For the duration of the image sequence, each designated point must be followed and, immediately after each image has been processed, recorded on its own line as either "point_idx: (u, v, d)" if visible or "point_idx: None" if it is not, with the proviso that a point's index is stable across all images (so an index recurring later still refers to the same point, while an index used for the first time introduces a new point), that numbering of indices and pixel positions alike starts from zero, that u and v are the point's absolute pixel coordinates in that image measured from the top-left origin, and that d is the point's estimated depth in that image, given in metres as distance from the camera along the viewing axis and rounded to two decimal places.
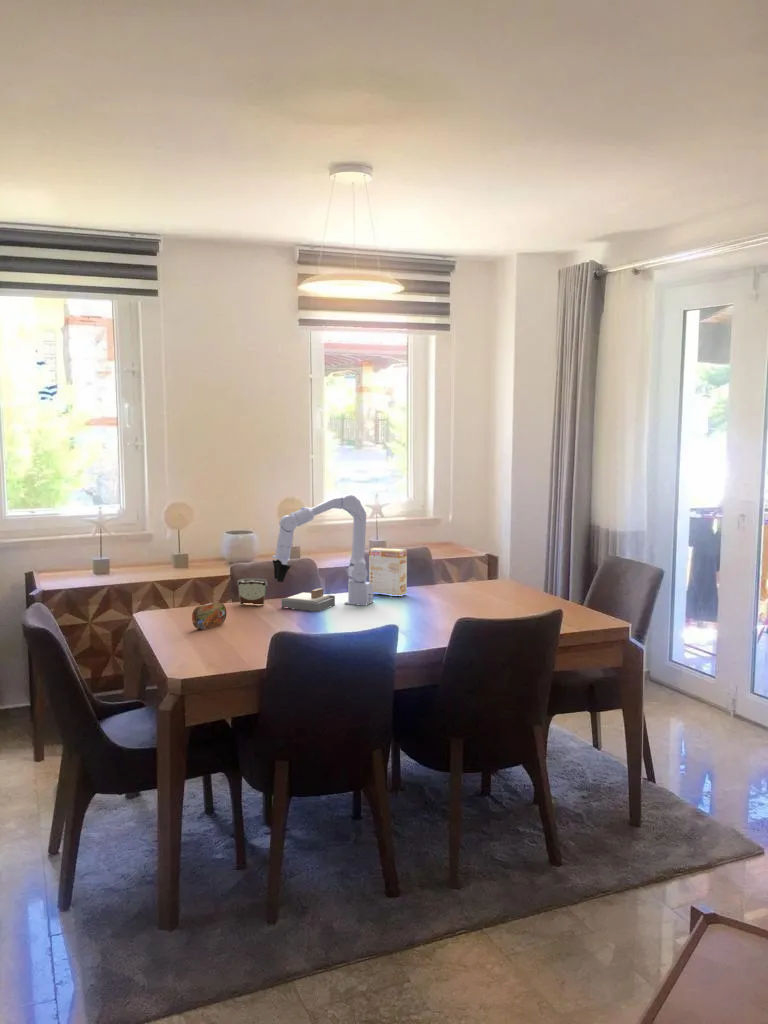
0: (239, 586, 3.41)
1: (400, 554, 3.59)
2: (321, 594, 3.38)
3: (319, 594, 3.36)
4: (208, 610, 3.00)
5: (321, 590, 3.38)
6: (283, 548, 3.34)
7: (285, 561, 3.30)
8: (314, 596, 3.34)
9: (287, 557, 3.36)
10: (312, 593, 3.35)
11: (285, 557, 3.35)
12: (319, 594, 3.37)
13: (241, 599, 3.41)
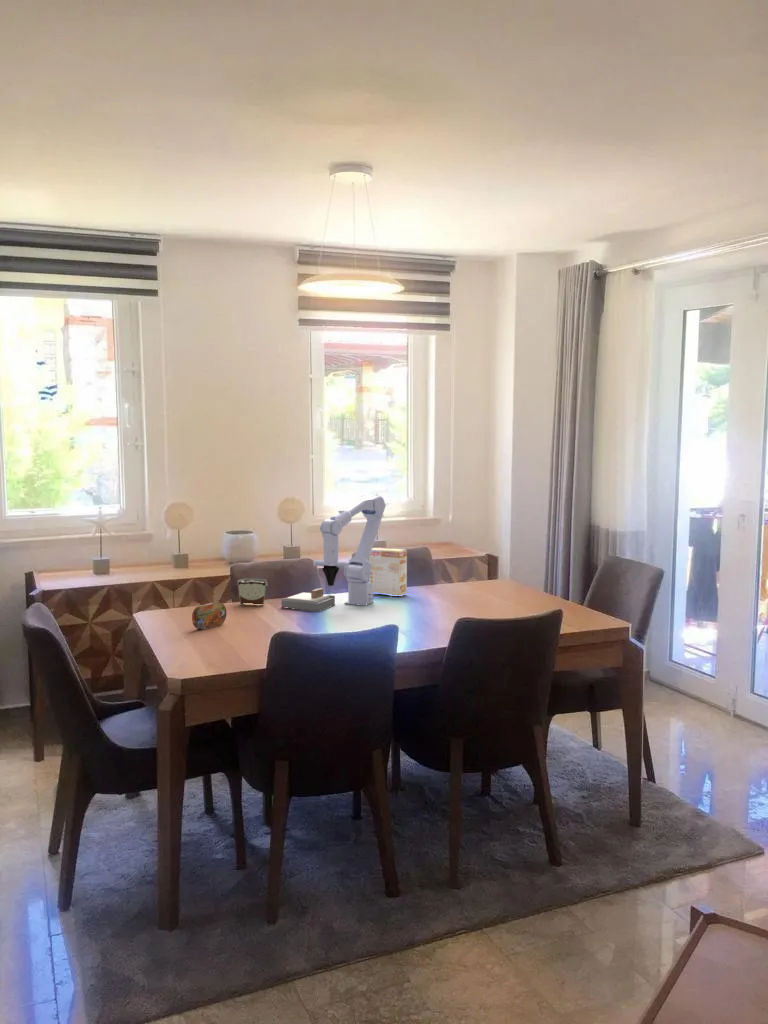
0: (239, 586, 3.41)
1: (400, 554, 3.59)
2: (321, 594, 3.38)
3: (319, 594, 3.36)
4: (208, 610, 3.00)
5: (321, 590, 3.38)
6: (336, 552, 3.32)
7: (347, 564, 3.31)
8: (314, 596, 3.34)
9: None
10: (312, 593, 3.35)
11: (338, 561, 3.33)
12: (319, 594, 3.37)
13: (241, 599, 3.41)
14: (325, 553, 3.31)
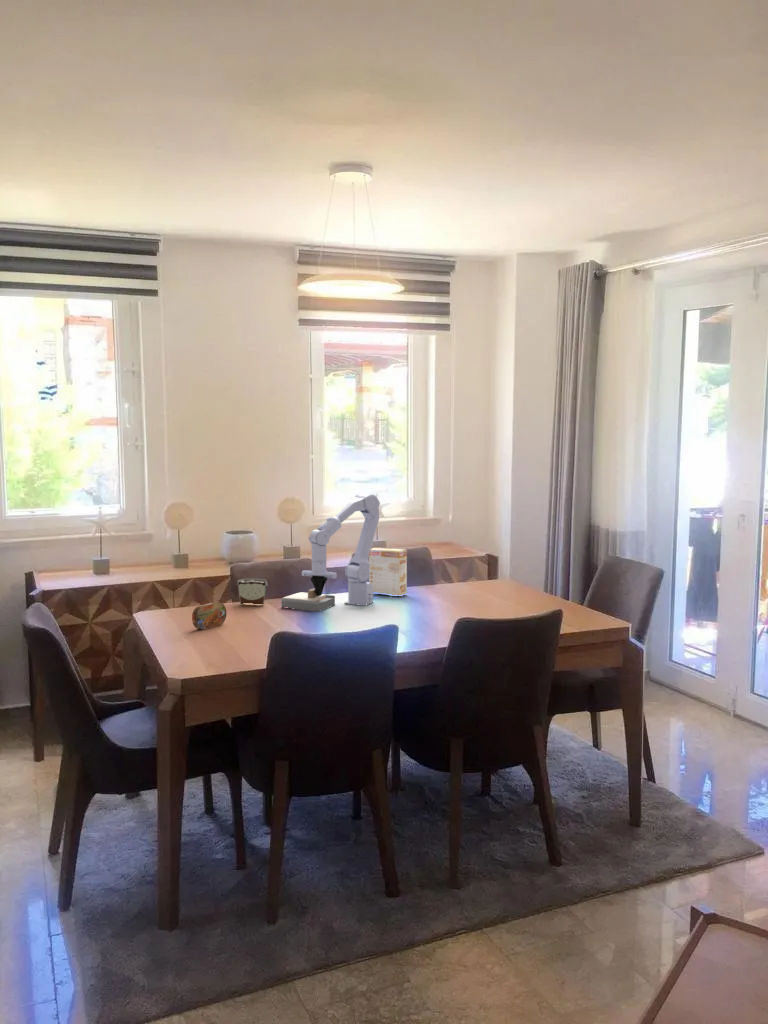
0: (239, 586, 3.41)
1: (400, 554, 3.59)
2: None
3: (315, 594, 3.37)
4: (208, 610, 3.00)
5: None
6: (324, 563, 3.34)
7: (335, 574, 3.33)
8: (311, 596, 3.35)
9: None
10: (309, 593, 3.35)
11: (326, 571, 3.36)
12: (315, 593, 3.37)
13: (241, 599, 3.41)
14: (313, 563, 3.34)
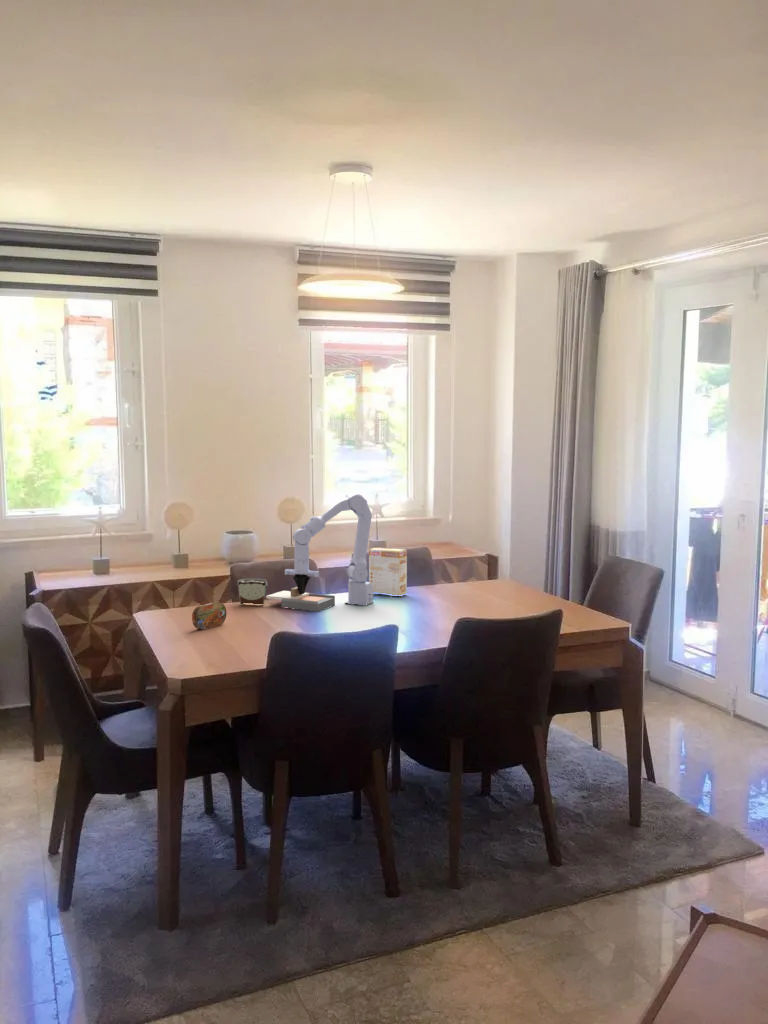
0: (239, 586, 3.41)
1: (400, 554, 3.59)
2: None
3: (298, 592, 3.40)
4: (208, 610, 3.00)
5: None
6: (307, 561, 3.37)
7: (318, 573, 3.36)
8: (293, 594, 3.38)
9: (308, 569, 3.40)
10: (291, 591, 3.38)
11: (308, 569, 3.39)
12: (298, 592, 3.40)
13: (241, 599, 3.41)
14: (296, 562, 3.37)
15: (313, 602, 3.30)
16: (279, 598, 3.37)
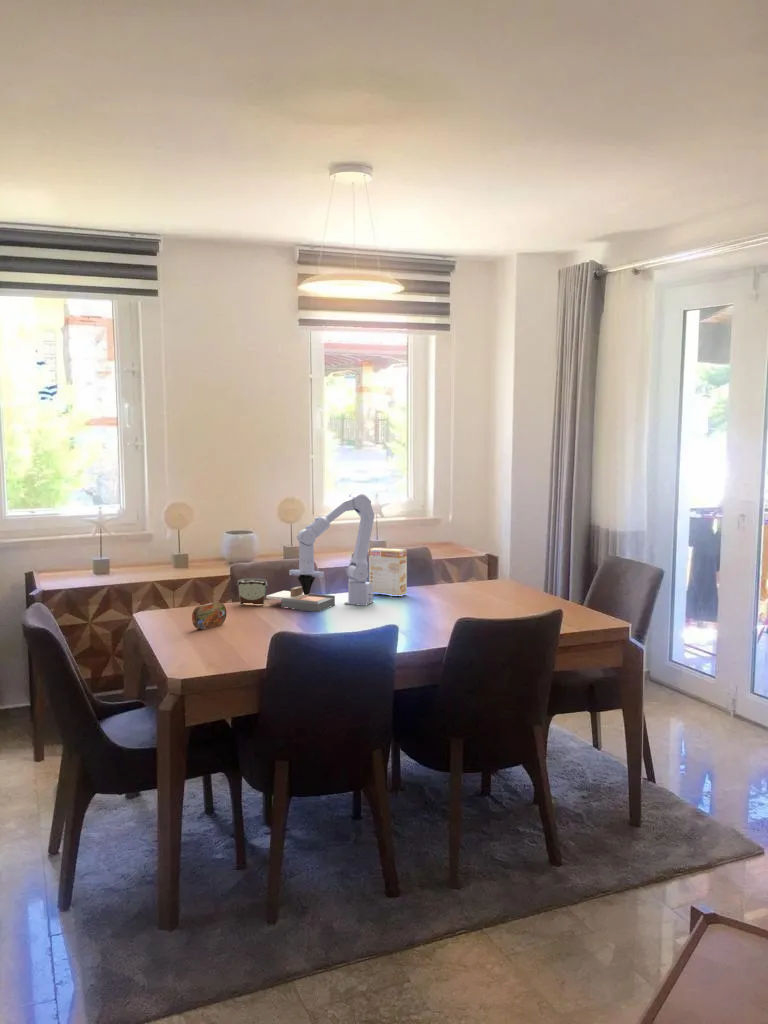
0: (239, 586, 3.41)
1: (400, 554, 3.59)
2: (300, 592, 3.42)
3: (298, 592, 3.40)
4: (208, 610, 3.00)
5: (300, 588, 3.42)
6: (311, 562, 3.36)
7: (323, 574, 3.36)
8: (293, 594, 3.38)
9: (313, 569, 3.39)
10: (291, 591, 3.38)
11: (313, 570, 3.38)
12: (298, 592, 3.40)
13: (241, 599, 3.41)
14: (301, 563, 3.36)
15: (313, 602, 3.30)
16: (279, 598, 3.37)
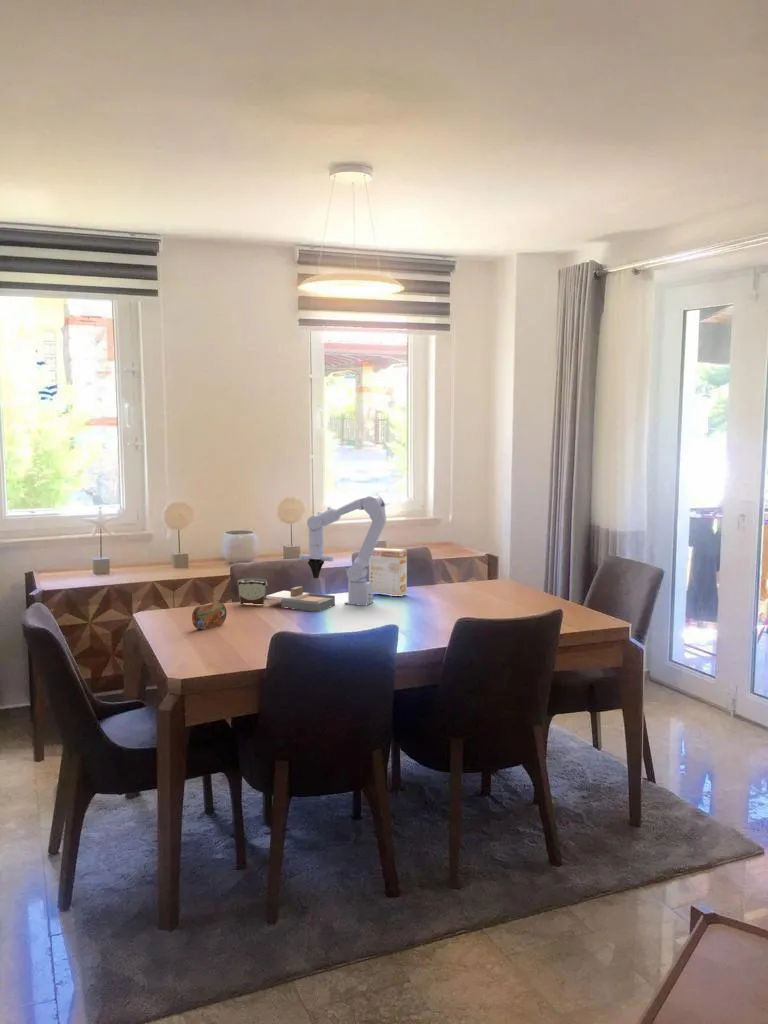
0: (239, 586, 3.41)
1: (400, 554, 3.59)
2: (300, 592, 3.42)
3: (298, 592, 3.40)
4: (208, 610, 3.00)
5: (300, 588, 3.42)
6: (321, 546, 3.48)
7: (332, 558, 3.47)
8: (293, 594, 3.38)
9: (322, 554, 3.50)
10: (291, 591, 3.38)
11: (322, 554, 3.49)
12: (298, 592, 3.40)
13: (241, 599, 3.41)
14: (310, 547, 3.48)
15: (313, 602, 3.30)
16: (279, 598, 3.37)
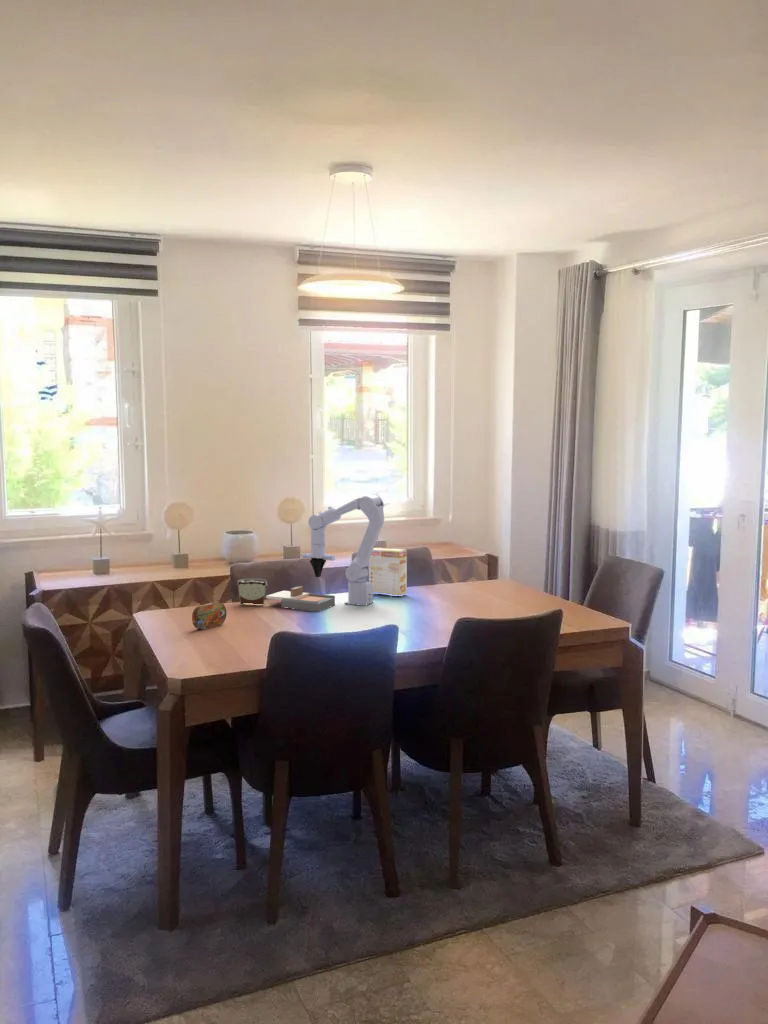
0: (239, 586, 3.41)
1: (400, 554, 3.59)
2: (300, 592, 3.42)
3: (298, 592, 3.40)
4: (208, 610, 3.00)
5: (300, 588, 3.42)
6: (323, 546, 3.51)
7: (333, 557, 3.50)
8: (293, 594, 3.38)
9: (324, 553, 3.53)
10: (291, 591, 3.38)
11: (324, 553, 3.52)
12: (298, 592, 3.40)
13: (241, 599, 3.41)
14: (312, 546, 3.51)
15: (313, 602, 3.30)
16: (279, 598, 3.37)
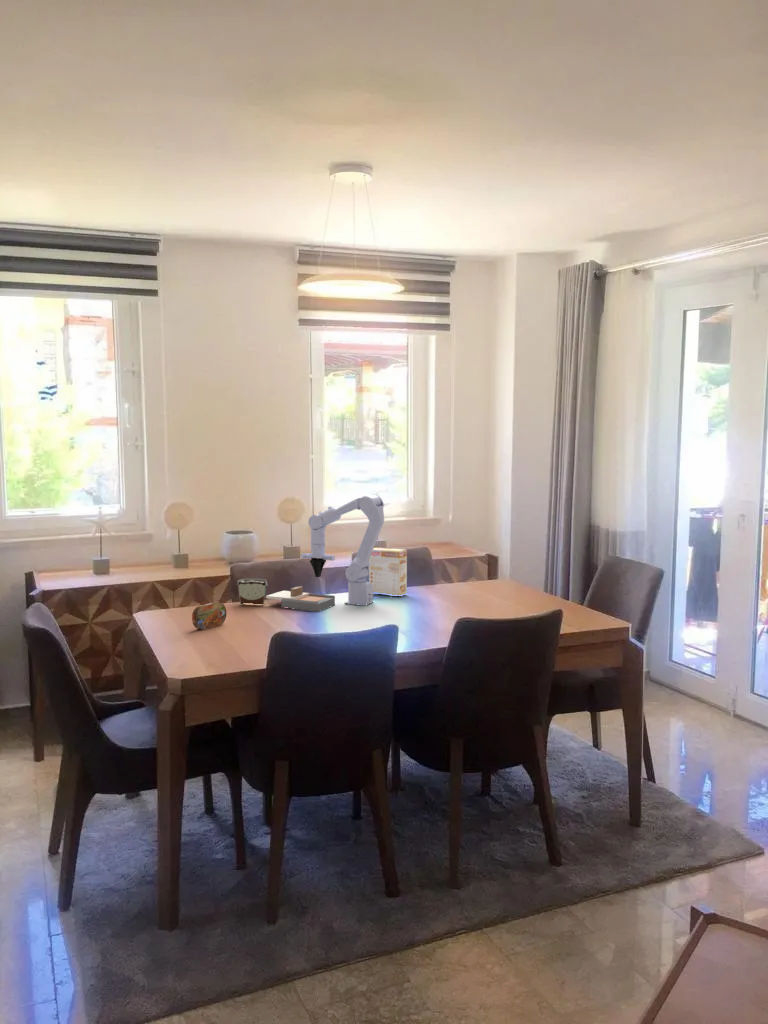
0: (239, 586, 3.41)
1: (400, 554, 3.59)
2: (300, 592, 3.42)
3: (298, 592, 3.40)
4: (208, 610, 3.00)
5: (300, 588, 3.42)
6: (323, 546, 3.51)
7: (333, 557, 3.50)
8: (293, 594, 3.38)
9: (324, 553, 3.53)
10: (291, 591, 3.38)
11: (324, 553, 3.52)
12: (298, 592, 3.40)
13: (241, 599, 3.41)
14: (312, 546, 3.51)
15: (313, 602, 3.30)
16: (279, 598, 3.37)
